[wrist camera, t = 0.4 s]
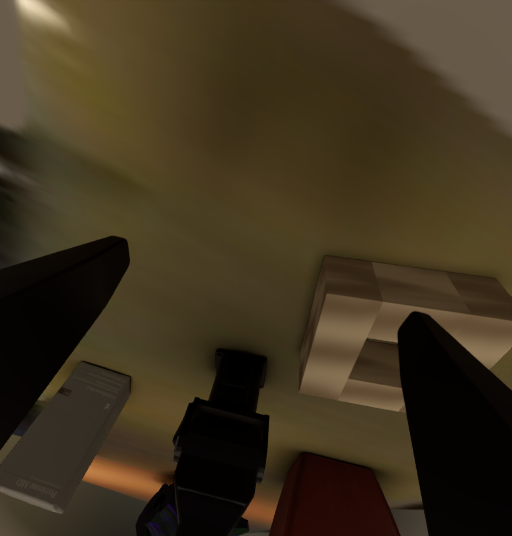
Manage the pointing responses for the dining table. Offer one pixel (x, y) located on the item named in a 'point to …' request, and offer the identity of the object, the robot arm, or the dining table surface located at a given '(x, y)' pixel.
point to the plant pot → (331, 501)
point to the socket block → (392, 326)
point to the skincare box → (64, 438)
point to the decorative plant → (169, 516)
